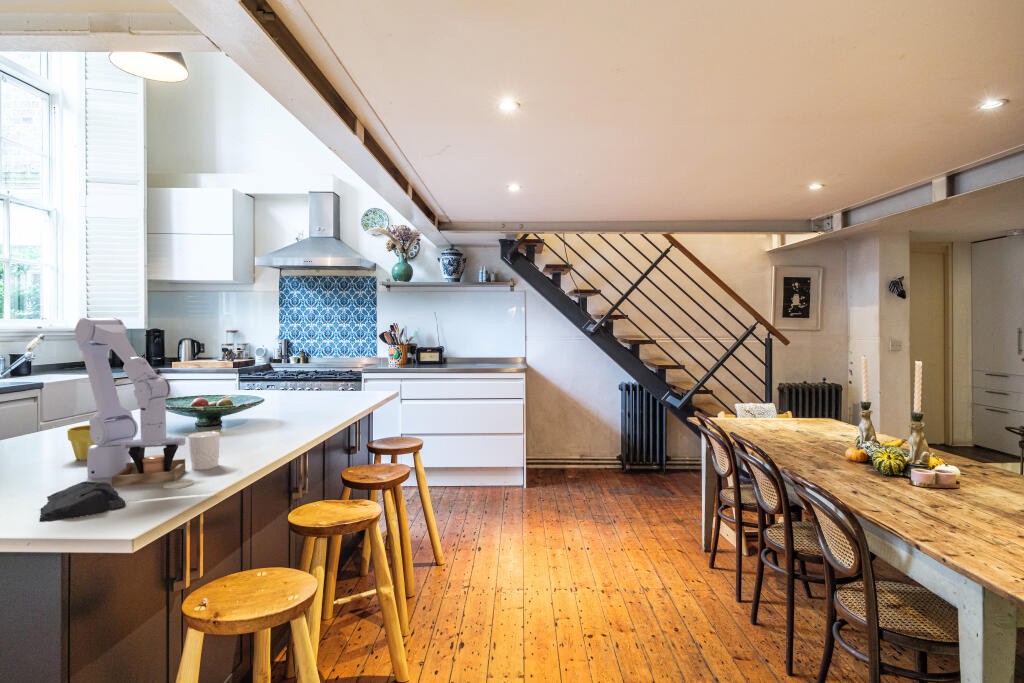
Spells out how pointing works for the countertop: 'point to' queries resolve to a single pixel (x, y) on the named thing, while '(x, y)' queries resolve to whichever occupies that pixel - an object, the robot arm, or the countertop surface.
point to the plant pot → (80, 440)
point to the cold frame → (148, 474)
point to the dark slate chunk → (81, 501)
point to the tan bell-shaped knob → (153, 464)
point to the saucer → (178, 484)
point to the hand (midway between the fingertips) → (154, 473)
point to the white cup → (204, 450)
